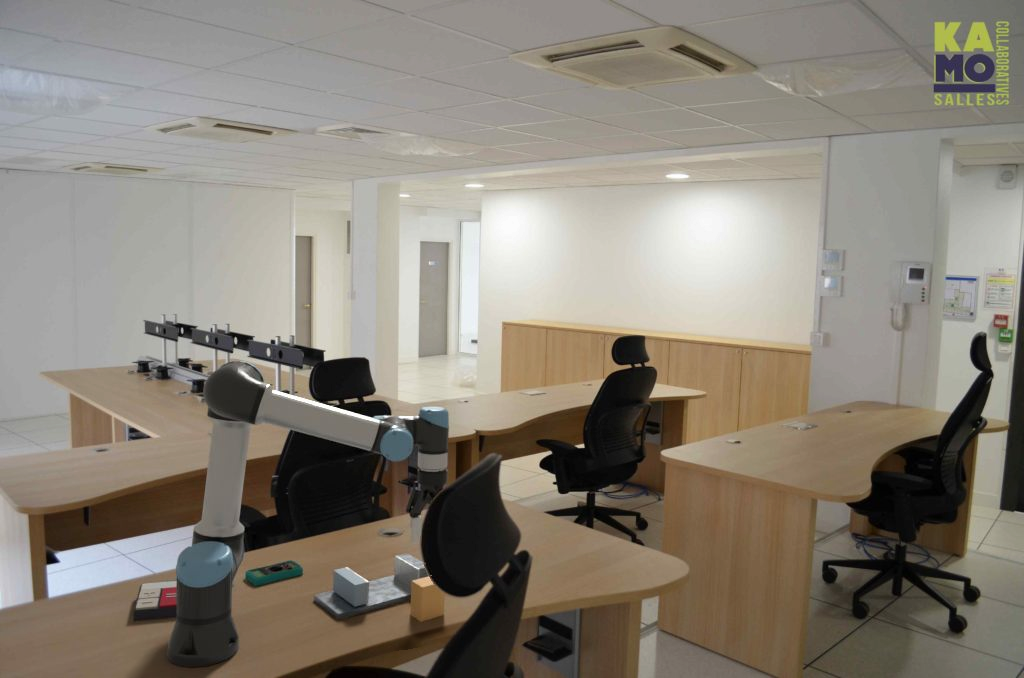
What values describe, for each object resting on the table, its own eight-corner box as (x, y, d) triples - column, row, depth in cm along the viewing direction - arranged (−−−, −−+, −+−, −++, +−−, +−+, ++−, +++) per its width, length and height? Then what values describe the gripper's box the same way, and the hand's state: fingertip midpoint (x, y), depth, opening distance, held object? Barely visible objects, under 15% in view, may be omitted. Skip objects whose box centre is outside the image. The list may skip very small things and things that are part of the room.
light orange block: (421, 621, 191) (422, 587, 191) (410, 614, 195) (411, 580, 194) (443, 615, 196) (445, 581, 195) (432, 608, 200) (434, 574, 199)
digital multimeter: (305, 575, 218) (305, 565, 218) (255, 588, 208) (255, 577, 208) (293, 567, 223) (293, 558, 223) (244, 579, 213) (244, 569, 213)
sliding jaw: (354, 606, 194) (355, 585, 194) (333, 590, 203) (333, 570, 203) (368, 602, 197) (369, 581, 196) (346, 587, 206) (347, 566, 205)
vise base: (338, 619, 190) (339, 590, 190) (313, 600, 201) (314, 572, 200) (431, 594, 208) (432, 567, 208) (404, 577, 219) (405, 552, 218)
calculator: (133, 608, 184) (140, 581, 198) (132, 625, 185) (140, 597, 199) (182, 603, 188) (186, 577, 202) (181, 620, 188) (185, 593, 202)
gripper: (473, 476, 185) (471, 561, 187) (418, 456, 204) (416, 532, 206) (448, 481, 181) (446, 567, 182) (394, 459, 200) (392, 538, 201)
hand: (430, 549), depth 194 cm, fingers open, 13 cm apart
